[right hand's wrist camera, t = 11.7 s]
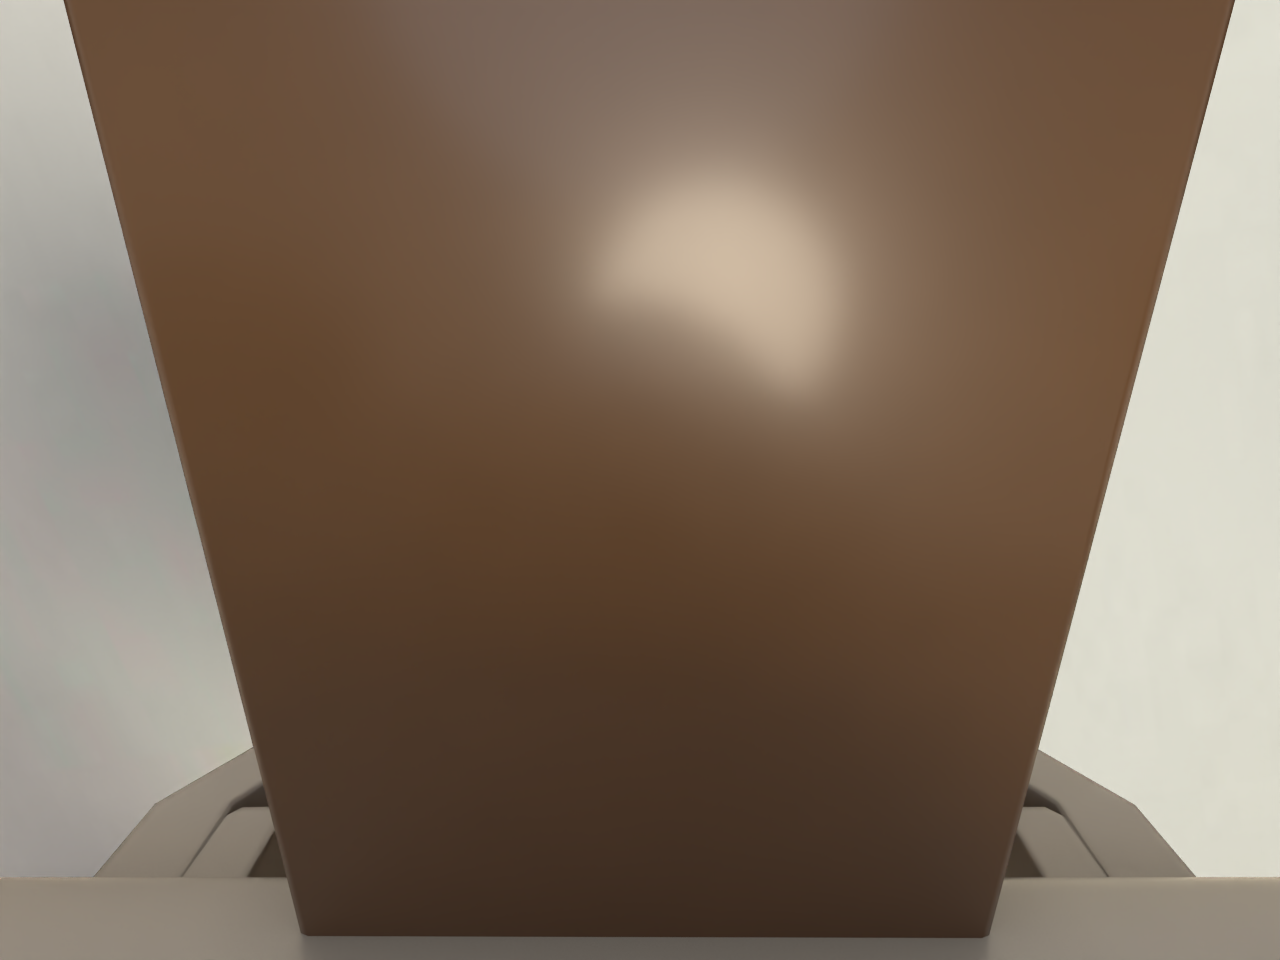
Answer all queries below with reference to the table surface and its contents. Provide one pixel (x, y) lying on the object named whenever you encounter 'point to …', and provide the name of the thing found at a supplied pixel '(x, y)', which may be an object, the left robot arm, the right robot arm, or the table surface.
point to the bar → (647, 427)
